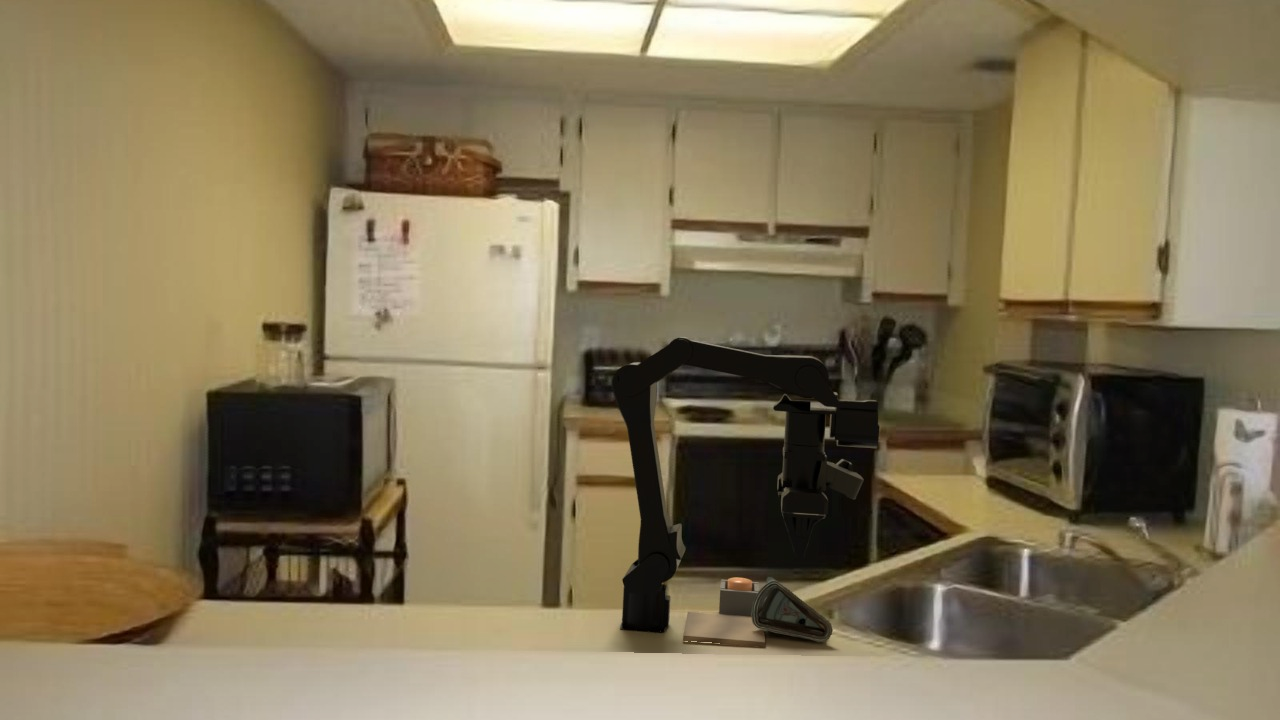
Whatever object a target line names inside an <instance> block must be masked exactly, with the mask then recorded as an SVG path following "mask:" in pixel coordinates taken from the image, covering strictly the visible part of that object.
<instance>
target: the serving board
mask: <svg viewBox="0 0 1280 720" xmlns="http://www.w3.org/2000/svg"><path fill="white" fill-rule="evenodd" d="M683 629H684V631H683V635H682V642H683V641H688V642H691V641H697V642H712V643H720V644H727V645H726V646H736V645H739V646H740V647H752V646H759V647H758V648H765V647H766V645H765V644H766V638H765V631H764V630H763V629H759V628H757V627H756V626H755V625H753V623H752V617H748V616H736V615H723V614H719V613H710V612H709V613H708V612H697V611H687V614H686V619H685V624H684V628H683ZM688 642H687V643H688ZM720 644H719V645H720Z"/></svg>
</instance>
